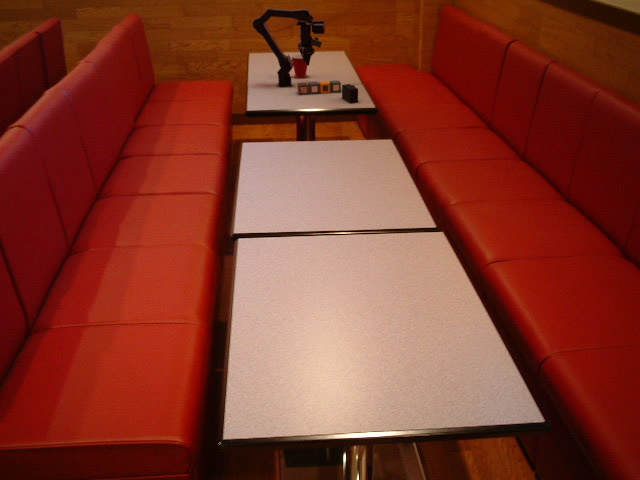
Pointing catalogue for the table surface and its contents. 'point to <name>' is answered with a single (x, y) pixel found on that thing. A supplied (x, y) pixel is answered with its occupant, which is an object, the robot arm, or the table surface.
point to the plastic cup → (299, 66)
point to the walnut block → (302, 88)
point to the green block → (335, 86)
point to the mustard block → (324, 87)
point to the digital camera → (350, 93)
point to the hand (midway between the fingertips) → (306, 63)
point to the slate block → (313, 87)
